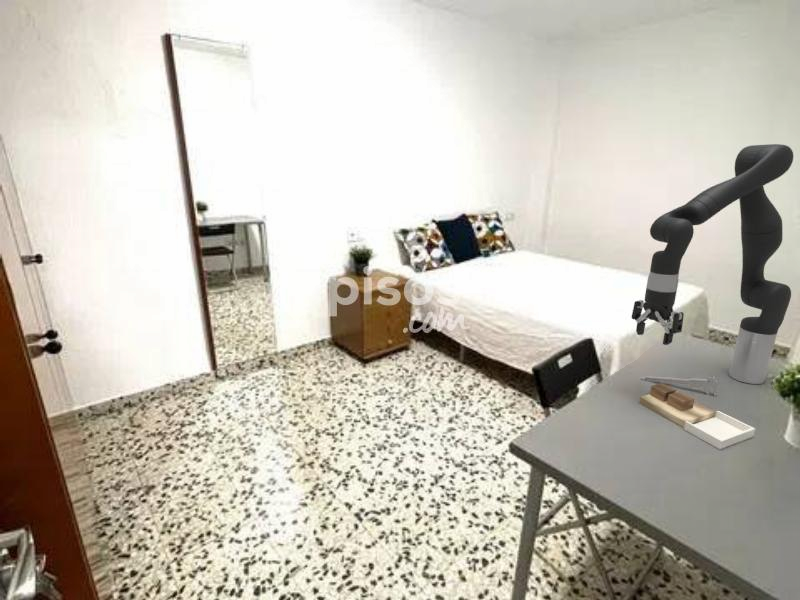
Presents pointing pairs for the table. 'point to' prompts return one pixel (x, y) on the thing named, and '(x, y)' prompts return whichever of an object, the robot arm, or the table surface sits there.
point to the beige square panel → (677, 411)
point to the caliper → (687, 382)
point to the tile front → (680, 401)
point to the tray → (720, 430)
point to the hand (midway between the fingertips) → (652, 339)
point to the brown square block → (661, 391)
